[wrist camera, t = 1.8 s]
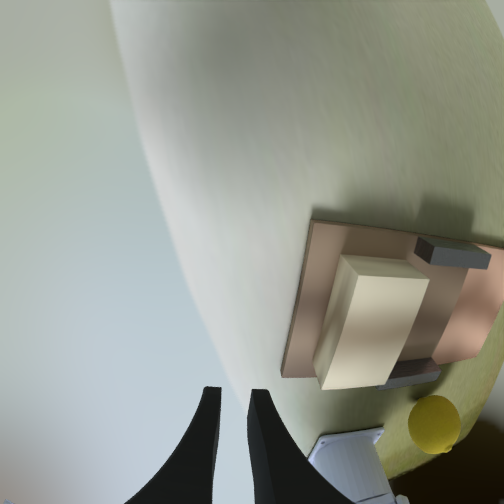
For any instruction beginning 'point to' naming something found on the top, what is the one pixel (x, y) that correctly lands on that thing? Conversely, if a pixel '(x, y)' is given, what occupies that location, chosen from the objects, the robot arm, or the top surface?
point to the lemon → (434, 424)
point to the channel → (442, 256)
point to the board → (431, 309)
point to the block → (367, 320)
